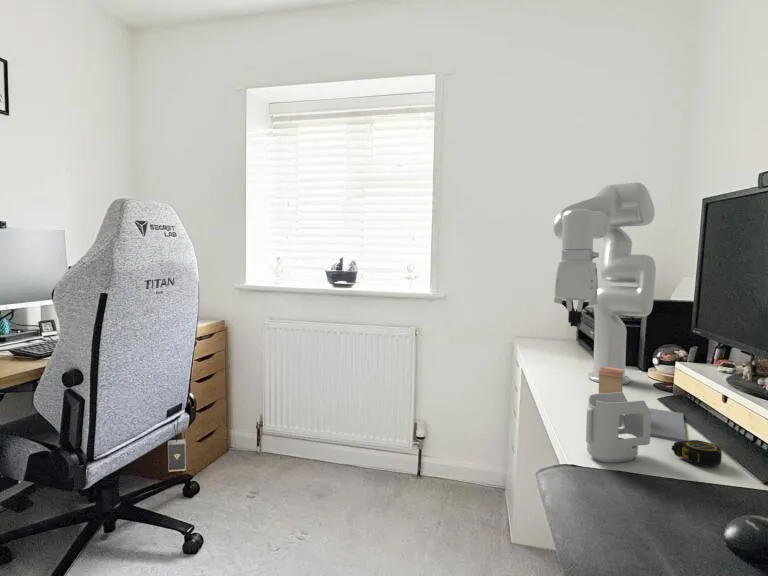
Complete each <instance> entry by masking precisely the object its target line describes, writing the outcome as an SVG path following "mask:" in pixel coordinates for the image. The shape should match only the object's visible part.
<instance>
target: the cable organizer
mask: <svg viewBox="0 0 768 576" xmlns="http://www.w3.org/2000/svg"><path fill="white" fill-rule="evenodd" d="M587 404H588V405H587V410H586V426H585V427H586V428H585V430H586V433H585V441H586V451H587V453H588V454H589V455H590V456H591V457H592V458H593V459H595V460H597V461H599V462H603V463H608V464H609V463H612V464H613V463H618V462H619V463H620V462H621V463H622V462H623V463H624V462H625V463H626V462H630V461H632V460H633V459H634V458H636V457H637V456H638V454H639V452H638V451H639V446H648V445H650V443H651V436H650V429H651V411H650V410H649V409H648V408H649V407H648V405H647V403H646V402H645V400H644V399H642V400H632V401H628V399H627V397H626V396H625V394H624V392H623V391H622V392H614V393H601V394H599V393H593V394H590V395H588V402H587ZM623 416H624V427H623ZM621 427H623V428H621ZM625 434H627V435H631V436H634V437H629V438H625V437H624V438H623V437H619V435H625Z"/></svg>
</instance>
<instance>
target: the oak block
mask: <svg viewBox="0 0 768 576" xmlns="http://www.w3.org/2000/svg"><path fill="white" fill-rule="evenodd" d="M623 385H624V384H623V369H618V368H610V367H601V368H600V370H599V382H598V394H601V393H614V392H623Z"/></svg>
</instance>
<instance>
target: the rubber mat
mask: <svg viewBox="0 0 768 576" xmlns="http://www.w3.org/2000/svg"><path fill="white" fill-rule="evenodd" d="M648 409H649V410H650V411H651V429H650V437H653V438H660V439H665V440H670V441H675V442H679V441H687V437H686V429H685V419H684V413H683V412H675V411H670V410H663V409H657V408H651V407H648Z"/></svg>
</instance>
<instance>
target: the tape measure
mask: <svg viewBox="0 0 768 576" xmlns="http://www.w3.org/2000/svg"><path fill="white" fill-rule="evenodd" d="M671 451H673V453H674V455H675V456H676V457H679V458H682V459H684V460H685V461H687V462H689V463H691V464H694V465H698V466H703V467H717V466H719V465H721V464H722V461H723V460H722V458H723V457H722V456H723V454H722V449H721V447H720V446H718V445H717V444H714V443H712V442H709V441H708V442H707V441H704V440H698V439H694V440H693V439H691V440H689V439H688V440H686V441H675V442H674V443H673V445H671Z"/></svg>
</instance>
